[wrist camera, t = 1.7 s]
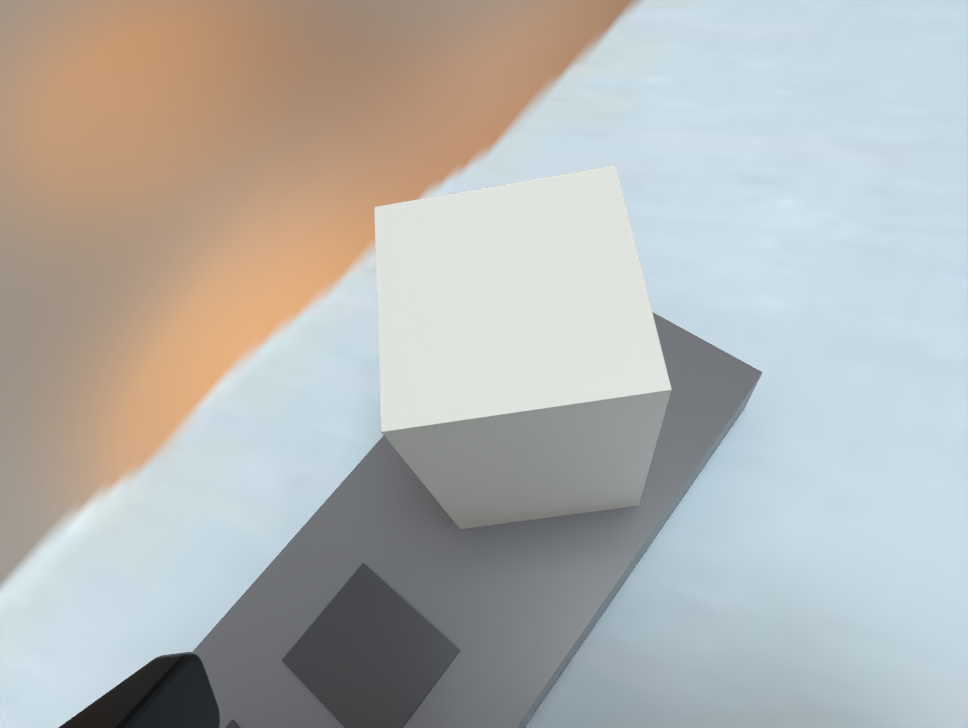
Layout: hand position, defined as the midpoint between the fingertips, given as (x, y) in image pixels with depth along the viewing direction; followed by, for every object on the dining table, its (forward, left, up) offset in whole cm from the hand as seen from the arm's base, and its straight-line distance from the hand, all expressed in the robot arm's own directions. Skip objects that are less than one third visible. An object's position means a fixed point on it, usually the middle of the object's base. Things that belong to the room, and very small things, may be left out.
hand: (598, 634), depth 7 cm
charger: (+4, +5, -12) cm, 14 cm away
